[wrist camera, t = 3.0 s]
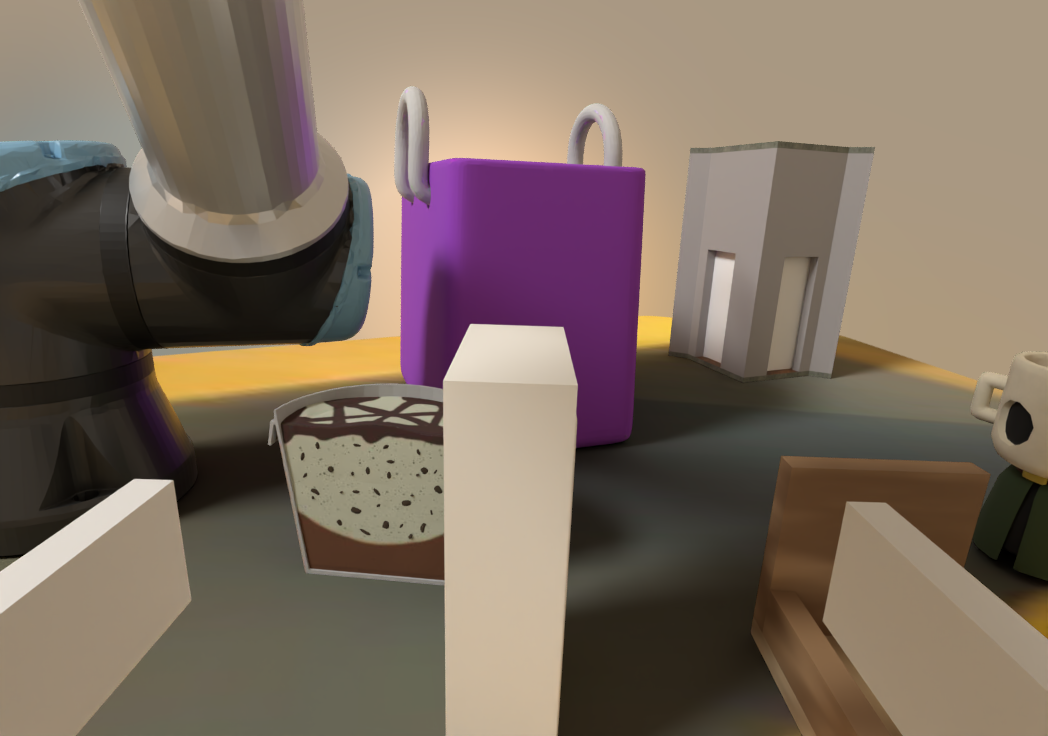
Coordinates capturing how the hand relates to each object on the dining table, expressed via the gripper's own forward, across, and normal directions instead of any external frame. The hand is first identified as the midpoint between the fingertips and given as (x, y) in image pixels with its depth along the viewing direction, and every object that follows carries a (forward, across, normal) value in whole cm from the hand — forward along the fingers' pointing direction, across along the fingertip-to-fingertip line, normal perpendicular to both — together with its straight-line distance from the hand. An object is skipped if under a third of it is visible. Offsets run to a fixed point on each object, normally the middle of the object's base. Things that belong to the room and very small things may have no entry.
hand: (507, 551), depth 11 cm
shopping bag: (+48, -2, -14) cm, 50 cm away
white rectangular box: (+11, 0, -14) cm, 18 cm away
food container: (+22, -7, -14) cm, 27 cm away
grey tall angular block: (+64, +29, -14) cm, 71 cm away
